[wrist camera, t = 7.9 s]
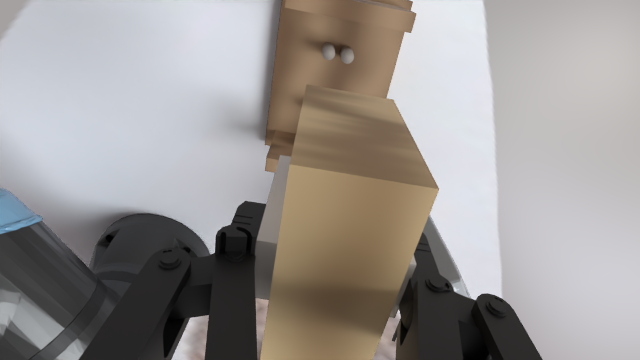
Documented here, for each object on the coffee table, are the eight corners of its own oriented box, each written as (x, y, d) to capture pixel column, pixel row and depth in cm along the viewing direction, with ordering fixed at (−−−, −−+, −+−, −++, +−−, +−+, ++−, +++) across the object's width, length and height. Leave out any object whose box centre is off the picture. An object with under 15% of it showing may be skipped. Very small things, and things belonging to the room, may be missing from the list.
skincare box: (367, 204, 46) (384, 303, 32) (421, 183, 44) (463, 277, 31) (392, 251, 50) (417, 357, 36) (443, 232, 48) (489, 336, 34)
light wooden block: (280, 253, 21) (255, 389, 14) (306, 84, 16) (289, 164, 9) (347, 263, 21) (355, 401, 14) (393, 99, 17) (439, 189, 10)
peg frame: (266, 141, 42) (253, 174, 35) (285, -25, 34) (274, -25, 27) (367, 158, 43) (375, 194, 36) (410, 0, 35) (431, 7, 28)
